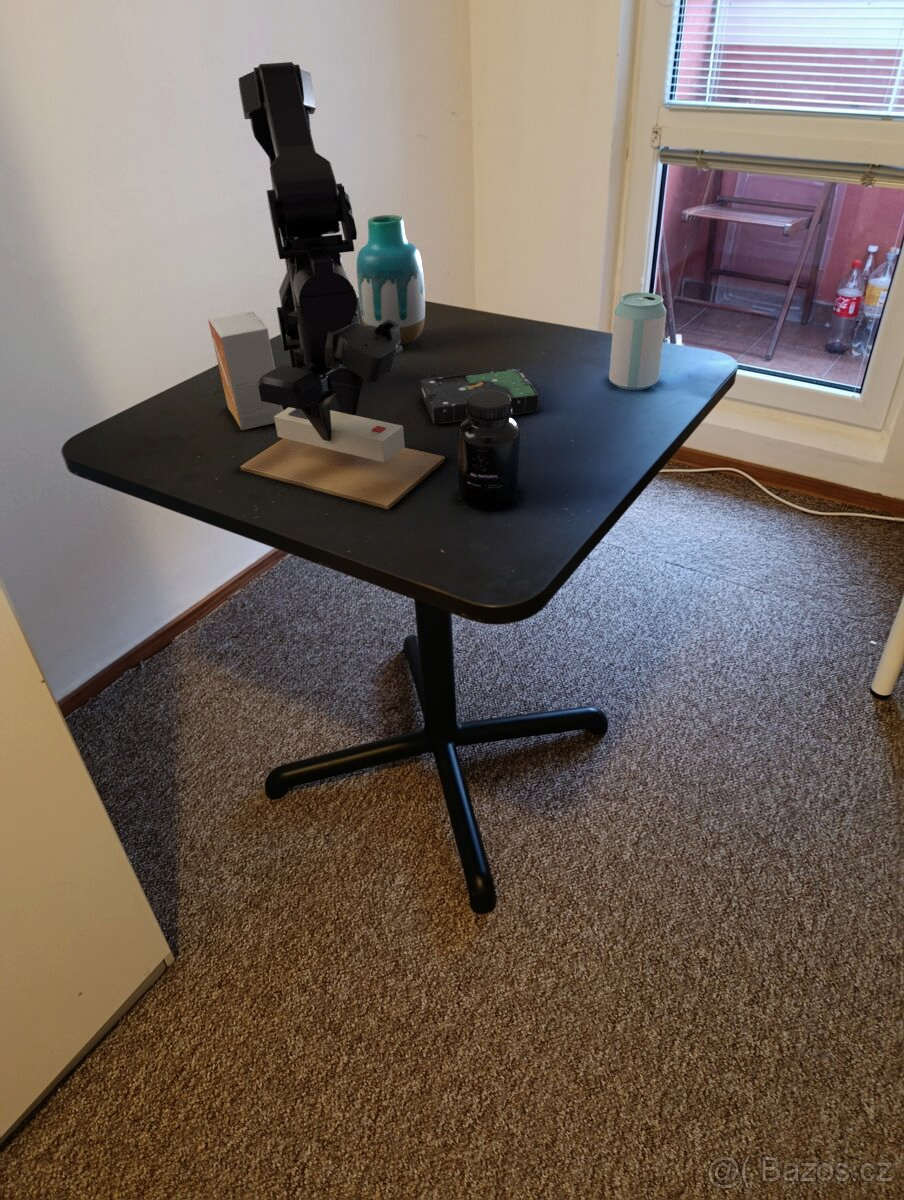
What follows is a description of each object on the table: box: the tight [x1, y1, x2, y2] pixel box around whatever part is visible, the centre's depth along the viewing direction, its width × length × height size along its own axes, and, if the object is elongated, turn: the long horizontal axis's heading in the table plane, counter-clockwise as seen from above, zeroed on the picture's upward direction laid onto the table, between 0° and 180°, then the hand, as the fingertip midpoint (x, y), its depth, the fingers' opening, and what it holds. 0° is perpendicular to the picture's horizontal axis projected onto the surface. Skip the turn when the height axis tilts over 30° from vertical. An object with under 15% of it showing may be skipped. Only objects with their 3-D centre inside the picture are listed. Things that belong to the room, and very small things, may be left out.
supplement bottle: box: [457, 391, 521, 511], centre depth 89 cm, size 7×7×12 cm
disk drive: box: [420, 368, 540, 425], centre depth 112 cm, size 10×3×15 cm
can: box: [608, 291, 667, 391], centre depth 113 cm, size 7×7×12 cm
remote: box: [274, 407, 406, 463], centre depth 98 cm, size 16×4×3 cm, turn 61°
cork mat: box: [239, 438, 446, 510], centre depth 100 cm, size 22×13×1 cm, turn 61°
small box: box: [207, 311, 284, 431], centre depth 109 cm, size 8×6×13 cm
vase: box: [356, 214, 426, 347], centre depth 128 cm, size 11×11×19 cm
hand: (338, 432), depth 98 cm, fingers closed on remote, 4 cm apart
